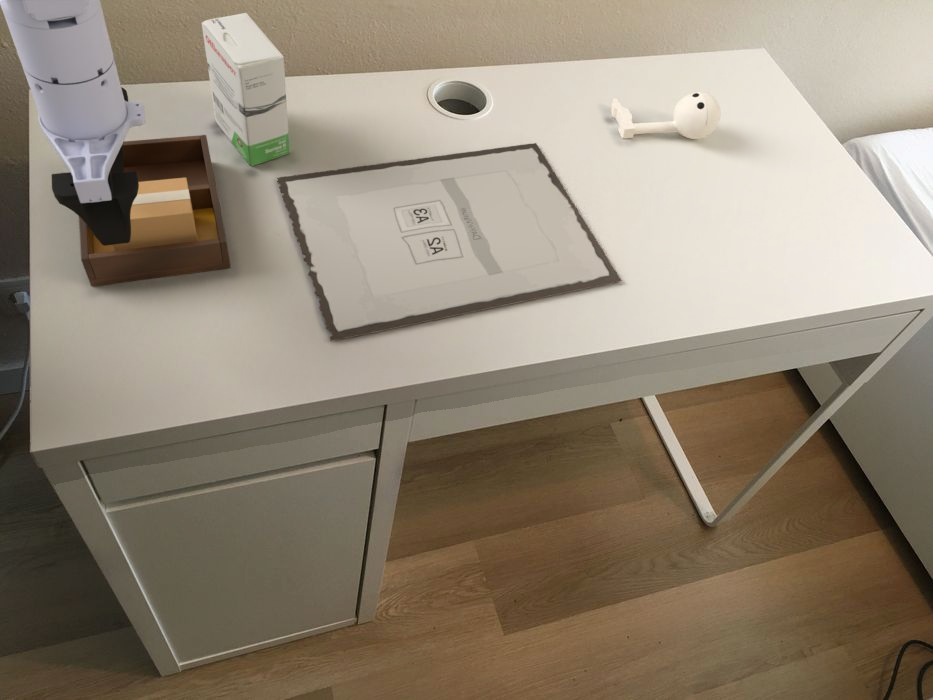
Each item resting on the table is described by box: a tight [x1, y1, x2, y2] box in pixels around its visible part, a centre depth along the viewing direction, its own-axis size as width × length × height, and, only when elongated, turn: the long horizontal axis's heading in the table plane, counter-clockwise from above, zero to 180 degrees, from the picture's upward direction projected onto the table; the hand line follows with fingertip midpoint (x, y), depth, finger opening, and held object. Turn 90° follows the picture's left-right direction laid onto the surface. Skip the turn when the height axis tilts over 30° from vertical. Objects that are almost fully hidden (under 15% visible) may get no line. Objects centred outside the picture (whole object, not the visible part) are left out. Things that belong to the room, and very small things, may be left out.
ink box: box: [201, 12, 291, 167], centre depth 77 cm, size 9×5×12 cm, turn 35°
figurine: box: [610, 91, 721, 140], centre depth 92 cm, size 8×6×12 cm
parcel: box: [113, 178, 198, 251], centre depth 69 cm, size 7×5×5 cm, turn 108°
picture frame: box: [276, 142, 623, 342], centre depth 78 cm, size 22×1×30 cm
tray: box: [78, 134, 232, 287], centre depth 72 cm, size 12×15×4 cm
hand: (112, 207), depth 62 cm, fingers open, 7 cm apart
